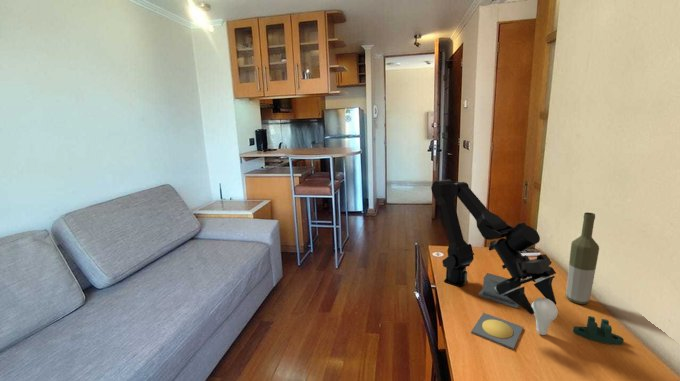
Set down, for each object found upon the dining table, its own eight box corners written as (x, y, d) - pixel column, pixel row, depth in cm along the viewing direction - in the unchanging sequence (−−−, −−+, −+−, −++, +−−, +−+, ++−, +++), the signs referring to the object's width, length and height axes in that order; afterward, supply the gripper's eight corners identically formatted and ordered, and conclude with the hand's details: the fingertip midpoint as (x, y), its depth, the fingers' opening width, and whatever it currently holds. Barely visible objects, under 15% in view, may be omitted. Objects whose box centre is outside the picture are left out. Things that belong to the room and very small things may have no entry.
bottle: (595, 307, 99) (609, 217, 92) (570, 305, 101) (582, 216, 94) (583, 295, 106) (596, 210, 99) (560, 293, 107) (571, 210, 101)
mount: (574, 336, 87) (576, 321, 86) (571, 327, 91) (573, 312, 90) (625, 348, 82) (628, 332, 81) (620, 338, 86) (623, 322, 85)
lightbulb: (558, 342, 85) (563, 306, 82) (533, 340, 86) (537, 305, 83) (548, 328, 91) (552, 294, 88) (525, 326, 92) (529, 292, 89)
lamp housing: (478, 296, 108) (479, 277, 106) (484, 288, 112) (485, 270, 110) (517, 308, 100) (519, 289, 98) (521, 300, 104) (523, 281, 103)
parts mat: (471, 332, 90) (471, 330, 90) (483, 314, 98) (483, 312, 98) (513, 350, 83) (513, 347, 83) (522, 328, 91) (523, 326, 91)
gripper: (508, 253, 84) (544, 311, 76) (552, 240, 91) (590, 292, 84) (482, 268, 93) (513, 321, 85) (525, 255, 100) (556, 303, 92)
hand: (544, 309), depth 86 cm, fingers open, 9 cm apart
